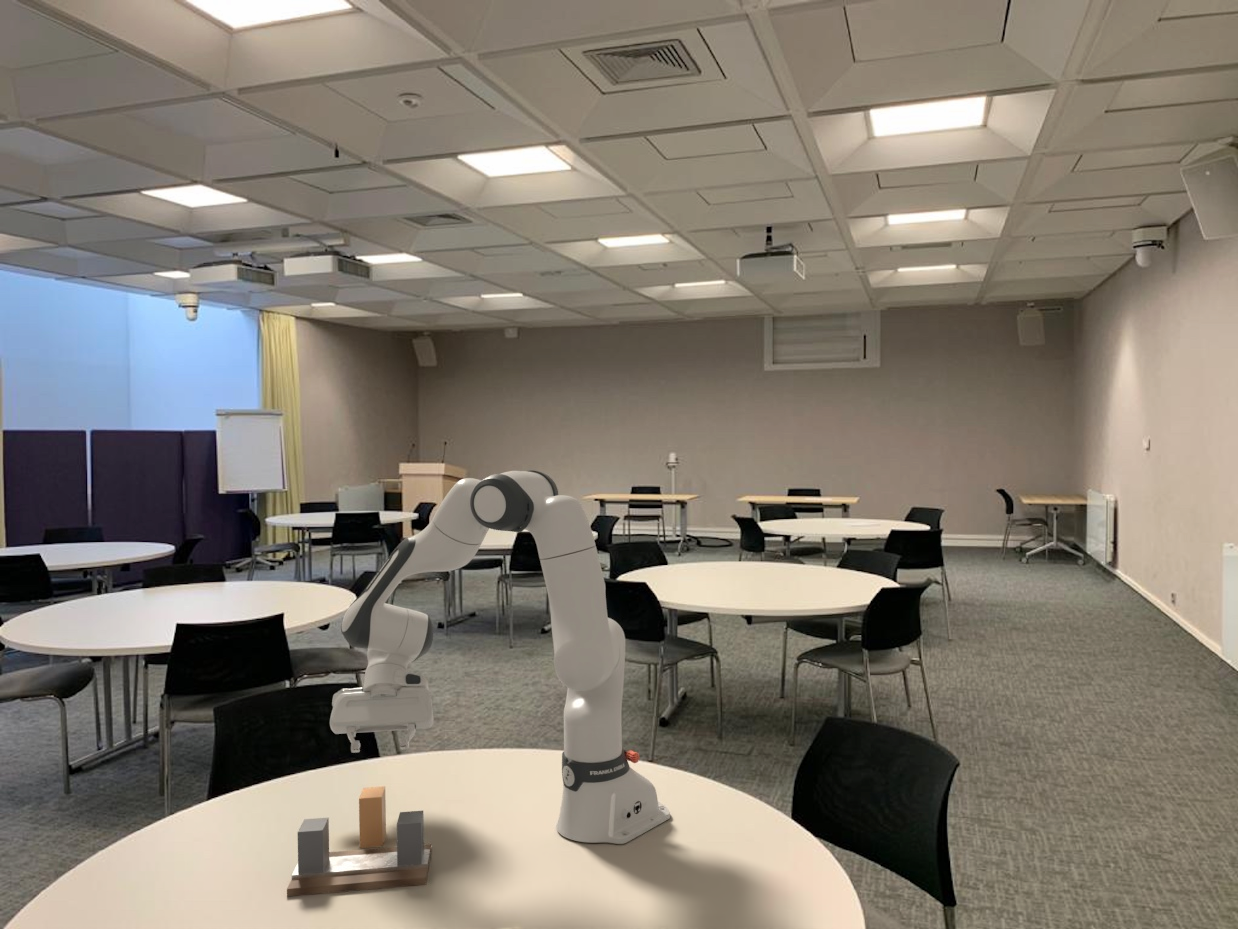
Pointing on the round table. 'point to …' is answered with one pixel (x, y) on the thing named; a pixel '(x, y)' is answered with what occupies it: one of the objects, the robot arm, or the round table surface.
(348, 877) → the board
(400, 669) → the robot arm
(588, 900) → the round table surface
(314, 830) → the mounted modules
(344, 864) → the light grey flat plate
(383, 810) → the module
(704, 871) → the round table surface
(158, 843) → the round table surface
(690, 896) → the round table surface
